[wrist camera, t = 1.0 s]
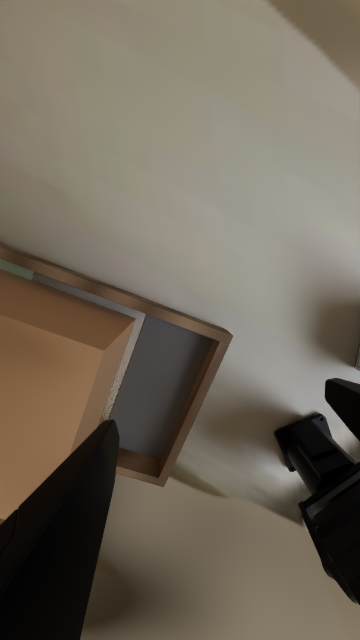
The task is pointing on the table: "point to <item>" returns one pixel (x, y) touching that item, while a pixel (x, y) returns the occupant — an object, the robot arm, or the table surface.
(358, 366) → the medicine box
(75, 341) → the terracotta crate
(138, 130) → the table surface
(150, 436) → the tray
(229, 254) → the table surface
